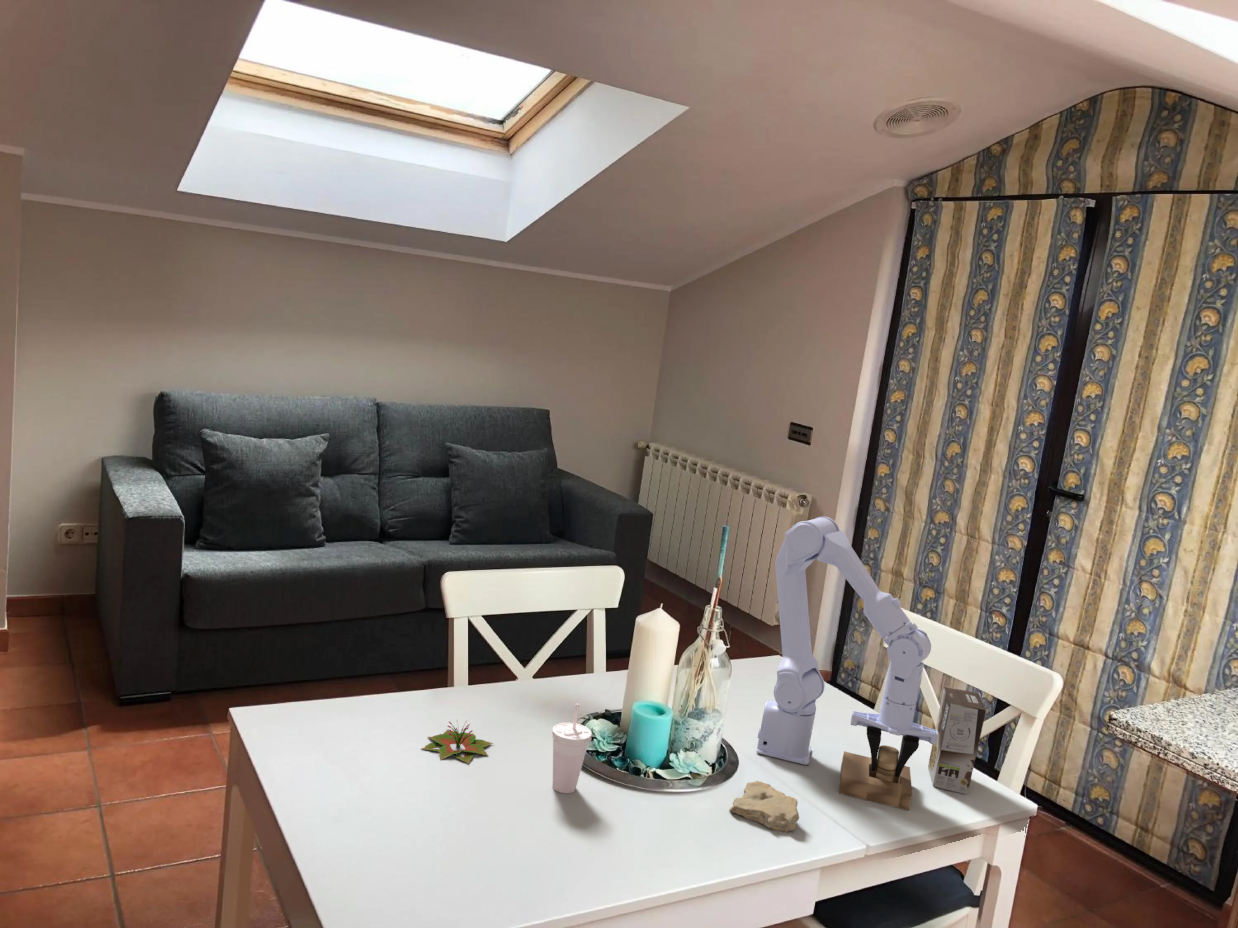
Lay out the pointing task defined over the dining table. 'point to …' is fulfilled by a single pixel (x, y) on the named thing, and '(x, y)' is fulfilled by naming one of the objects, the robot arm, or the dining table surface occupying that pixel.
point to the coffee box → (956, 740)
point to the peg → (886, 763)
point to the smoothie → (569, 753)
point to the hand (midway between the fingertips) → (885, 771)
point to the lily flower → (457, 744)
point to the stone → (767, 807)
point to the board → (873, 783)
